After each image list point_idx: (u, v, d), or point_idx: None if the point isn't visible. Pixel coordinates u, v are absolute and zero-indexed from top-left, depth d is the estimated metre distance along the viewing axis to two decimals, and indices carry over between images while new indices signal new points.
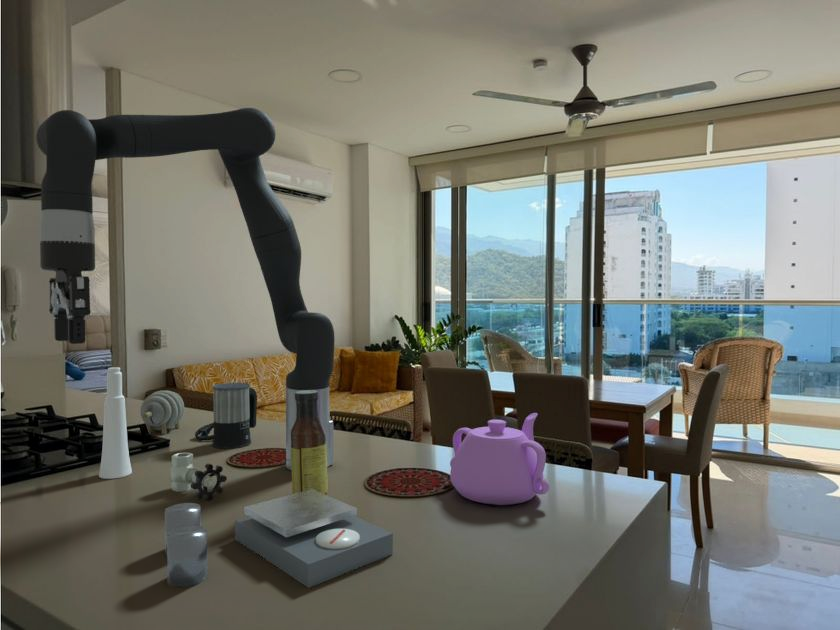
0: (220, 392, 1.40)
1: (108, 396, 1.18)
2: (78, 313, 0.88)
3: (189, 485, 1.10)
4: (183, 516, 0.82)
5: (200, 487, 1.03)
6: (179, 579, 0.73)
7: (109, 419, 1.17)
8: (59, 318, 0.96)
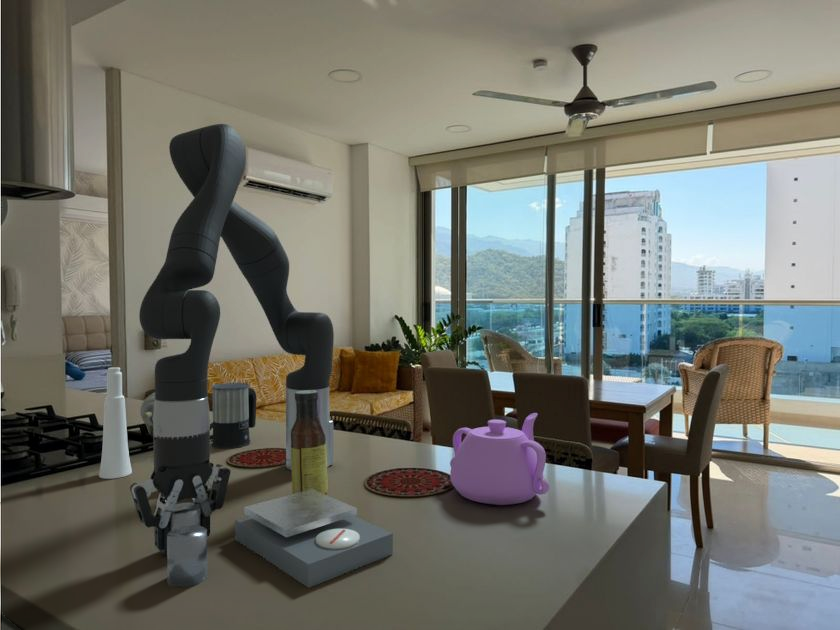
0: (219, 392, 1.40)
1: (108, 396, 1.18)
2: None
3: None
4: (183, 516, 0.82)
5: None
6: (179, 579, 0.73)
7: (109, 419, 1.17)
8: (166, 526, 0.82)
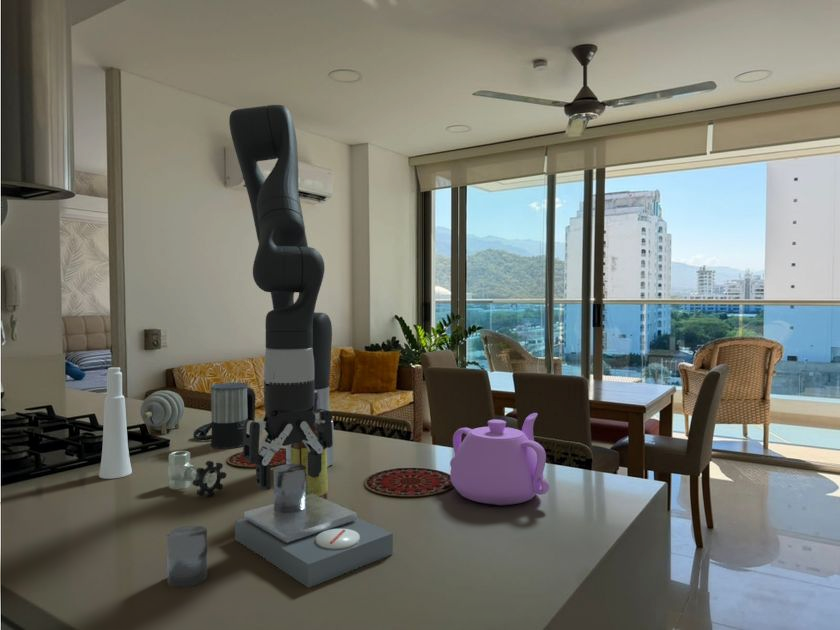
0: (217, 392, 1.40)
1: (108, 396, 1.18)
2: None
3: (187, 483, 1.12)
4: (293, 474, 0.87)
5: (202, 484, 1.05)
6: (179, 579, 0.73)
7: (109, 419, 1.17)
8: (267, 464, 0.86)
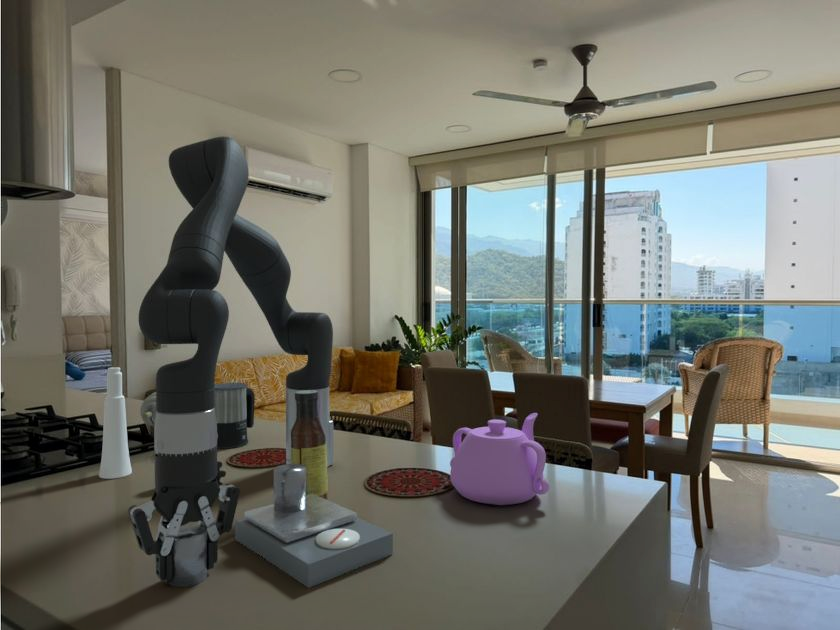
0: (216, 392, 1.40)
1: (108, 396, 1.18)
2: None
3: None
4: (293, 474, 0.87)
5: None
6: (179, 579, 0.73)
7: (109, 419, 1.17)
8: None
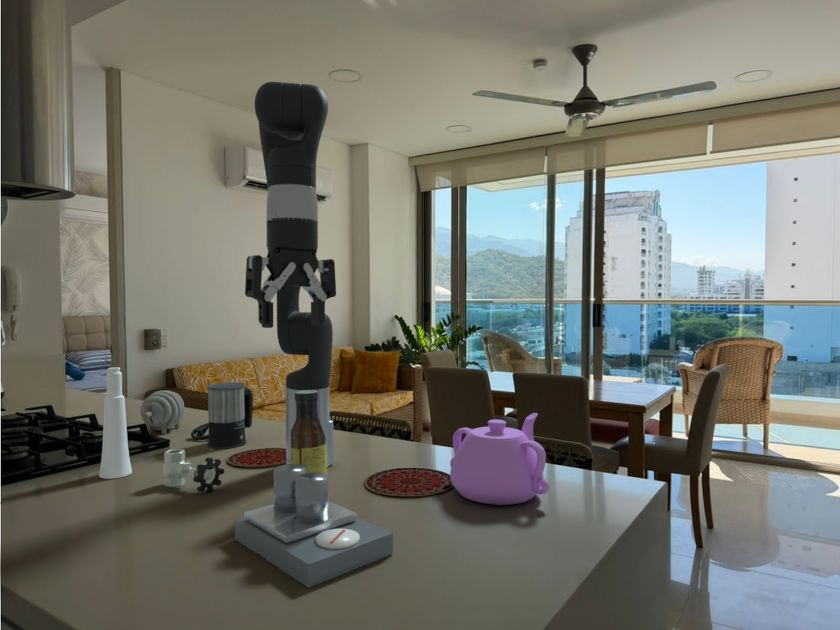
0: (214, 392, 1.40)
1: (108, 396, 1.18)
2: None
3: (182, 480, 1.13)
4: (293, 474, 0.87)
5: (202, 480, 1.07)
6: (308, 517, 0.83)
7: (109, 419, 1.17)
8: None
